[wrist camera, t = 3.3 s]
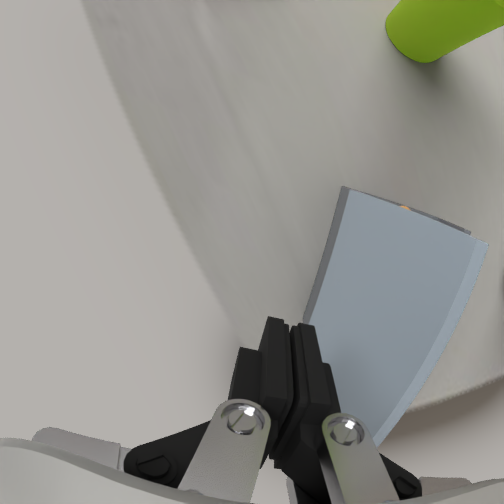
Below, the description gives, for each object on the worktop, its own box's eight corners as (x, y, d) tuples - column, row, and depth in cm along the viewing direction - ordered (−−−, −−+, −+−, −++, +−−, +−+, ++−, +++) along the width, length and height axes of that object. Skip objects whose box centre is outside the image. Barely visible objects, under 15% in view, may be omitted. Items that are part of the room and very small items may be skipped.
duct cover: (488, 244, 7) (476, 239, 7) (357, 469, 11) (344, 472, 11) (360, 192, 17) (349, 189, 17) (308, 352, 21) (298, 351, 21)
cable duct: (440, 218, 22) (471, 231, 18) (396, 334, 26) (414, 364, 21) (341, 186, 22) (359, 192, 18) (302, 317, 26) (308, 349, 21)
